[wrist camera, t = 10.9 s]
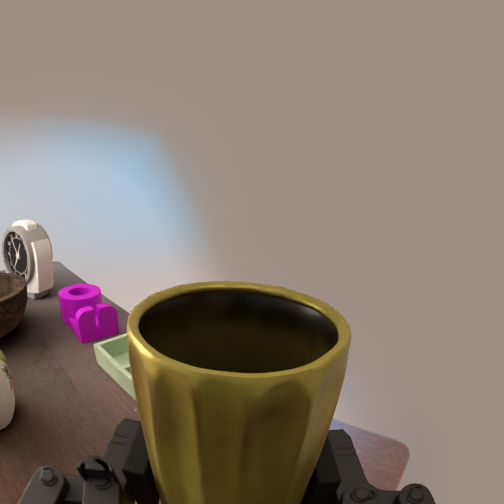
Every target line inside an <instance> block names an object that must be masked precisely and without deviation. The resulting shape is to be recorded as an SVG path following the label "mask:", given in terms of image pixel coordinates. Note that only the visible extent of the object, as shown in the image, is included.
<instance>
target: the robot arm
mask: <svg viewBox="0 0 504 504" xmlns="http://www.w3.org/2000/svg"><path fill="white" fill-rule="evenodd" d="M77 469H78V471H79V473H80V475H67V474H63V473H62V472H61V471H60V469H58V468H56V467H55V466H50V465H45V466H41V467H39V468H38V469H37V470H36V471H35V472H34V474H33V476H32V478H31V479H30V481H29V483H28V485H27V487H26V489H25V491H24V493H23V495H22V496H21V498H20V500H19V502H18V504H134V503H135V500H136V502H137V504H158V503H159V499H160V497H159V494H158V491H157V488H156V484H155V480H154V476H153V472H152V468H151V464H150V460H149V455H148V451H147V447H146V442H145V438H144V433H143V429H142V425H141V421H136V420H131V419H126V418H125V419H124V420H123V421H122V422H120V423H119V424H118V425H117V427H116V429H115V431H114V433H113V435H112V437H111V439H110V442H109V443H108V446H107V448H106V450H105V452H104V454H103V456H102V457H100V456H88V457H85V458H83V459H82V460H81V461H80V462H79V463H78V465H77ZM301 504H435V502H434V499H433V497H432V495H431V493H430V491H429V490H428V489H427V488H426V487H425V486H423V485H421V484H410V485H407V486H405V487H404V488H403V489H402V490H401V491H385V490H379V489H376V488H375V487H374V486H373V485H371V484H369V483H368V481H367V480H366V477H365V475H364V472H363V469H362V467H361V464H360V461H359V459H358V456H357V455H356V451H355V448H354V447H353V443H352V440H351V438H350V436H349V435H348V434H347V433H346V432H345V431H344V430H343V429H340V430H329V431H328V433H327V436H326V439H325V442H324V445H323V448H322V450H321V453H320V456H319V458H318V461H317V463H316V466H315V468H314V471H313V473H312V476H311V478H310V481H309V483H308V486H307V488H306V491H305V494H304V497H303V500H302V502H301Z"/></svg>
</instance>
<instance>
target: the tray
mask: <svg viewBox="0 0 504 504" xmlns="http://www.w3.org/2000/svg"><path fill="white" fill-rule="evenodd" d="M94 349H95V354H96V359H97V363H98V364H99V365H100V366H101V367H102V368H103V369H104V370H105V371H106V372H107V373H108V374H109V375H110V376H111V377H112V378H113V379H114V380H115V381H116V382H117V383H118V384H119V385H120V386H121V387H122V388H123V389H124V390H125V391H126V392H127V393H128V394H129V395H130V396H131V397H132V398H133V399H135V400H136V397H135V392H134V387H133V381H132V376H131V371H130V364H129V357H128V346H127V334H124V335H121V336H117V337H114V338H111V339H108V340H105V341H102V342H99V343H96V344H94Z"/></svg>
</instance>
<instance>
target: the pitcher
mask: <svg viewBox="0 0 504 504" xmlns="http://www.w3.org/2000/svg"><path fill="white" fill-rule="evenodd" d="M14 408H15V393H14V386H13V380H12V376H11V372H10V369H9V366H8V363H7V361H6V358H5V356H4V354H3V352H2V351H1V349H0V430H1V429H3V428H5V427H6V426H7V425H8V424H9V423H10V422H11V420H12V417H13V413H14Z"/></svg>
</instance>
